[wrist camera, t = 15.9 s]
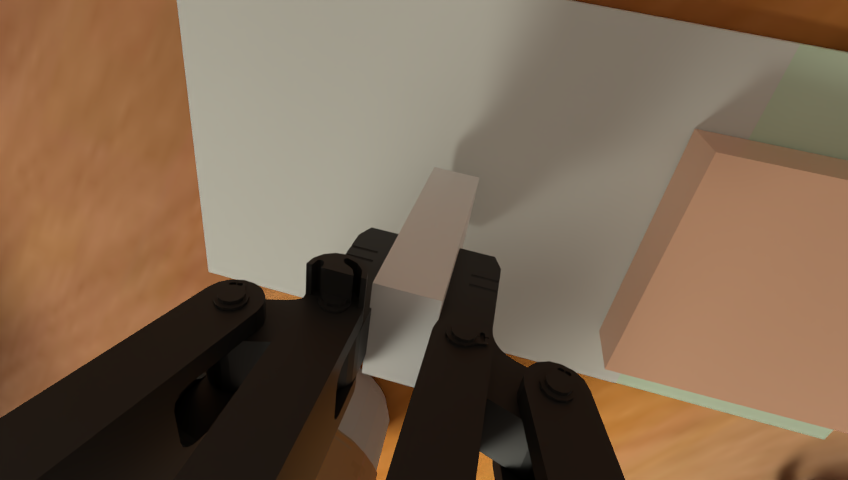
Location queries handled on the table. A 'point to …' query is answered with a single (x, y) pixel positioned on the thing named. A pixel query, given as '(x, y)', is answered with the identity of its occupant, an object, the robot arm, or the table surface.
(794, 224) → the tile
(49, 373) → the table surface
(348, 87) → the mat
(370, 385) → the coffee cup
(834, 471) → the table surface
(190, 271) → the table surface
